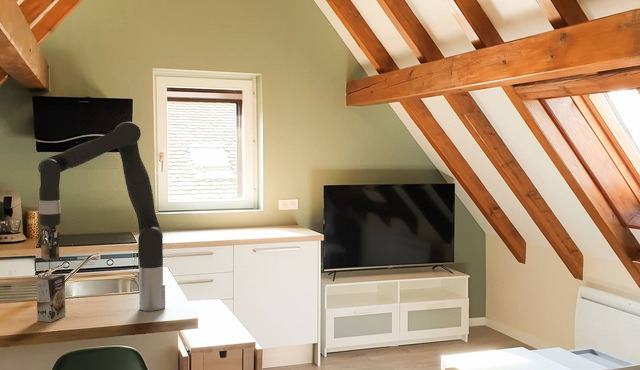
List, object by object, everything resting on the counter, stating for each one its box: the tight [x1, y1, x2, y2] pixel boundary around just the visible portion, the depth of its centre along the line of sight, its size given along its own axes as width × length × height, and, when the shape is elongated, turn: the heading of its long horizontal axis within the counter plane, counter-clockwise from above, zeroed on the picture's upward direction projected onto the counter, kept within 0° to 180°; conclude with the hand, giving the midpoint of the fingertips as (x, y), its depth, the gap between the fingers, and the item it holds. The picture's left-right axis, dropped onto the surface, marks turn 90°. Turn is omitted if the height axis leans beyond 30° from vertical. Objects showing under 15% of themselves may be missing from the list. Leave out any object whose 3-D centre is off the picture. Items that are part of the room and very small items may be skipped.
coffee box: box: [36, 273, 66, 323], centre depth 245 cm, size 9×6×16 cm
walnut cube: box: [40, 244, 60, 261], centre depth 244 cm, size 5×5×5 cm
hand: (50, 257), depth 244 cm, fingers closed on walnut cube, 5 cm apart
